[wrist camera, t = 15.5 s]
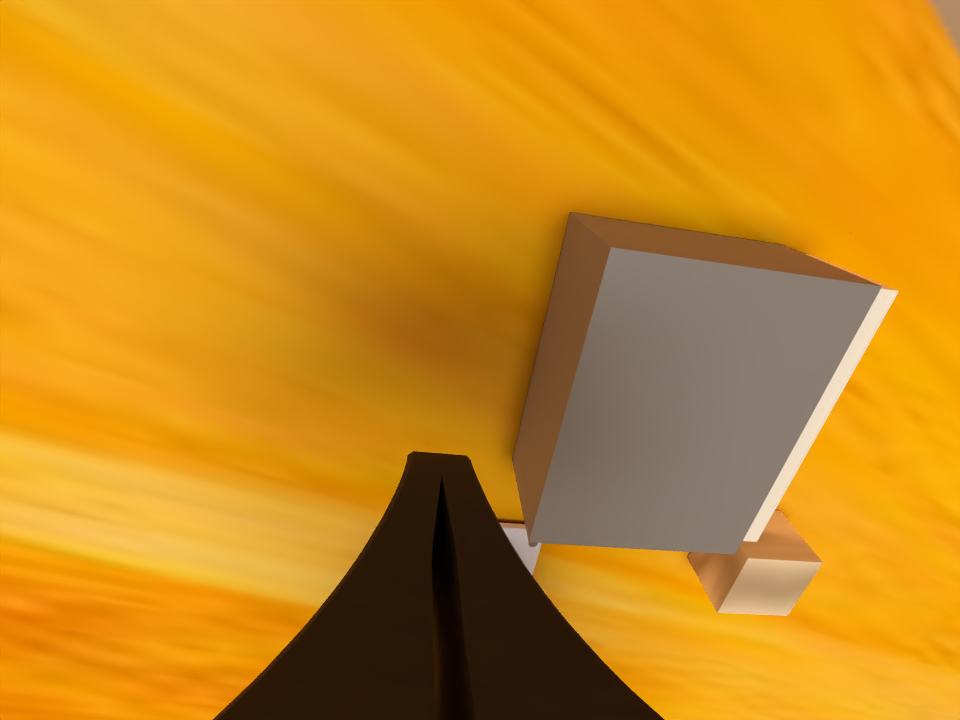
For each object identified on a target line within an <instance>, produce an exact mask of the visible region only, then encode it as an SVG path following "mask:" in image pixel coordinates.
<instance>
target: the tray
mask: <svg viewBox="0 0 960 720" xmlns="http://www.w3.org/2000/svg"><path fill="white" fill-rule="evenodd" d="M806 255H808V256H811V257H813V258H815V259H818V260H820V261H823V262H825V263H827V264H830V265H832V266H835V267H837V268H839V269H842V270H844V271H846V272H849V273H851V274H854V275H856V276H858V277H861V278H863V279H866V280H868V281H870V282H873V283H875V284H878V285H880V286H882V288H881V289H880V291H879V293H878V295H877V297H876V299H875V300H874V302H873V304H872V306H871V308H870V309H869V311H868V313H867V315H866V317H865V319H864V320H863V322H862V324H861V326H860V328H859V330H858V331H857V333H856V335H855V337H854V339H853V341H852V342H851V344H850V346H849V348H848V350H847V351H846V353H845V355H844V357H843V359H842V361H841V362H840V364H839V366H838V368H837V370H836V372H835V373H834V375H833V377H832V379H831V381H830V382H829V384H828V386H827V388H826V390H825V392H824V393H823V395H822V397H821V399H820V401H819V403H818V404H817V406H816V408H815V410H814V412H813V413H812V415H811V417H810V419H809V421H808V423H807V424H806V426H805V428H804V430H803V432H802V434H801V435H800V437H799V439H798V441H797V443H796V445H795V446H794V448H793V450H792V452H791V454H790V455H789V457H788V459H787V461H786V463H785V465H784V466H783V468H782V470H781V472H780V474H779V476H778V477H777V479H776V481H775V483H774V485H773V486H772V488H771V490H770V492H769V494H768V496H767V497H766V499H765V501H764V503H763V505H762V507H761V508H760V510H759V512H758V514H757V516H756V517H755V519H754V521H753V523H752V525H751V527H750V528H749V530H748V532H747V534H746V536H745V538H744V539H743V541H751V542H757V541H758V539H759V537H760V535H761V534H762V532H763V530H764V528H765V526H766V525H767V523H768V521H769V519H770V518H771V516H772V514H773V512H774V511H775V509H776V507H777V505H778V504H779V502H780V500H781V498H782V496H783V495H784V493H785V491H786V489H787V488H788V486H789V484H790V482H791V481H792V479H793V477H794V475H795V474H796V472H797V470H798V468H799V466H800V465H801V463H802V461H803V459H804V458H805V456H806V454H807V452H808V451H809V449H810V447H811V445H812V444H813V442H814V440H815V438H816V436H817V435H818V433H819V431H820V429H821V428H822V426H823V424H824V422H825V421H826V419H827V417H828V415H829V414H830V412H831V410H832V408H833V406H834V405H835V403H836V401H837V399H838V398H839V396H840V394H841V392H842V391H843V389H844V387H845V385H846V384H847V382H848V380H849V378H850V376H851V375H852V373H853V371H854V369H855V368H856V366H857V364H858V362H859V361H860V359H861V357H862V355H863V353H864V352H865V350H866V348H867V346H868V345H869V343H870V341H871V339H872V338H873V336H874V334H875V332H876V331H877V329H878V327H879V325H880V323H881V322H882V320H883V318H884V316H885V315H886V313H887V311H888V309H889V308H890V306H891V304H892V302H893V301H894V299H895V297H896V295H897V293H898V292H899V291H897V290H895V289H893V288H890V287H888V286H885V285H883V284H880V283H878V282H876V281H873V280H871V279H868V278H866V277H863V276H861V275H859V274H856V273H854V272H851V271H849V270H847V269H844V268H842V267H839V266H837V265H834V264H832V263H830V262H827V261H825V260H822V259H820V258H818V257H815V256H813V255H809V254H806Z"/></svg>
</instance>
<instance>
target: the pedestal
mask: <svg viewBox="0 0 960 720" xmlns="http://www.w3.org/2000/svg"><path fill="white" fill-rule="evenodd" d="M688 559H689V561H690V563H691V565H692V567H693V569H694V570H695V572H696V574H697V576H698V578H699V580H700V582H701V583H702V585H703V587H704V589H705V591H706V593H707V594H708V596H709V598H710V600H711V602H712V604H713V606H714V607H715V609H716V611H717V613H736V614H759V615H783V616H788V614H789V613H790V611H791V610H792V608H793V607H794V605H795V604H796V602H797V601H798V599H799V598H800V596H801V595H802V593H803V592H804V590H805V589H806V587H807V586H808V584H809V583H810V581H811V580H812V578H813V577H814V575H815V574H816V572H817V571H818V569H819V568H820V566H821V565H822V563H823V562H822V561H821V560H820V559H819V557H818V556H817V555H816V554H815V553H814V551H813V550H812V549H811V548H810V546H809V545H808V544H807V543H806V542H805V540H804V539H803V538H802V537H801V536H800V534H799V533H798V532H797V531H796V530H795V528H794V527H793V526H792V525H791V524H790V522H789V521H788V520H787V519H786V517H785V516H784V515H783V514H782V513H781V511H780V510H775V511H774V512H773V514H772V516H771V518H770V519H769V521H768V523H767V525H766V526H765V528H764V530H763V532H762V534H761V535H760V537H759V539H758V541H757V542H751V541H742V543H741V545H740V547H739V549H738V550H737V552H736V554H735V555H733V554H717V553H700V552H690V553H689V555H688Z"/></svg>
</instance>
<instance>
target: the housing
mask: <svg viewBox="0 0 960 720" xmlns="http://www.w3.org/2000/svg"><path fill="white" fill-rule="evenodd" d="M881 288H882V286H880V285H878V284H875V283H873V282H870V281H868V280H866V279H863V278H861V277H858V276H856V275H854V274H851V273H849V272H846V271H844V270H842V269H839V268H837V267H835V266H832V265H830V264H827V263H825V262H823V261H820V260H818V259H815V258H813V257H811V256H808V255H806V254H803V253H801V252H799V251H796V250H794V249H791V248H789V247H787V246H784V245H782V244H776V243H769V242H762V241H756V240H749V239H743V238H736V237H730V236H723V235H717V234H710V233H703V232H697V231H690V230H684V229H677V228H671V227H664V226H658V225H651V224H644V223H638V222H631V221H625V220H618V219H612V218H605V217H599V216H592V215H586V214H579V213H572V212H570V214H569V219H568V223H567V227H566V232H565V236H564V240H563V244H562V249H561V253H560V257H559V261H558V266H557V270H556V274H555V279H554V283H553V287H552V291H551V296H550V300H549V304H548V308H547V313H546V317H545V321H544V326H543V330H542V334H541V338H540V343H539V347H538V351H537V356H536V360H535V364H534V368H533V373H532V377H531V381H530V385H529V390H528V394H527V398H526V403H525V407H524V411H523V415H522V420H521V424H520V428H519V433H518V437H517V441H516V445H515V450H514V454H513V458H512V460H513V465H514V470H515V475H516V481H517V486H518V491H519V496H520V501H521V506H522V511H523V516H524V521H525V526H526V531H527V536H528V541H529V542H534V543H550V544H567V545H584V546H600V547H617V548H634V549H650V550H667V551H683V552H700V553H717V554H733V555H735V554H736V552H737V550H738V549H739V547H740V545H741V543H742V541H743V539H744V538H745V536H746V534H747V532H748V530H749V528H750V527H751V525H752V523H753V521H754V519H755V517H756V516H757V514H758V512H759V510H760V508H761V507H762V505H763V503H764V501H765V499H766V497H767V496H768V494H769V492H770V490H771V488H772V486H773V485H774V483H775V481H776V479H777V477H778V476H779V474H780V472H781V470H782V468H783V466H784V465H785V463H786V461H787V459H788V457H789V455H790V454H791V452H792V450H793V448H794V446H795V445H796V443H797V441H798V439H799V437H800V435H801V434H802V432H803V430H804V428H805V426H806V424H807V423H808V421H809V419H810V417H811V415H812V413H813V412H814V410H815V408H816V406H817V404H818V403H819V401H820V399H821V397H822V395H823V393H824V392H825V390H826V388H827V386H828V384H829V382H830V381H831V379H832V377H833V375H834V373H835V372H836V370H837V368H838V366H839V364H840V362H841V361H842V359H843V357H844V355H845V353H846V351H847V350H848V348H849V346H850V344H851V342H852V341H853V339H854V337H855V335H856V333H857V331H858V330H859V328H860V326H861V324H862V322H863V320H864V319H865V317H866V315H867V313H868V311H869V309H870V308H871V306H872V304H873V302H874V300H875V299H876V297H877V295H878V293H879V291H880V289H881Z"/></svg>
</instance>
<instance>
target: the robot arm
mask: <svg viewBox="0 0 960 720" xmlns="http://www.w3.org/2000/svg"><path fill="white" fill-rule="evenodd" d="M541 545H542V543H534V542H529V541H528V536H527V531H526V526H525V524H513V523H499V521H498V519H497V517H496V516H495V514H494V512H493V510H492V508H491V506H490V504H489V502H488V500H487V498H486V496H485V494H484V492H483V490H482V488H481V485H480V483H479V481H478V478H477V476H476V474H475V471H474V468H473V466H472V463H471V460H470V459H469V458H468V457H467V456H464V455H452V454H440V453H427V452H415V451H413V452H412V453H410V454H409V455H408V457H407V463H406V466H405V470H404V473H403V475H402V478H401V480H400V483H399V485H398V487H397V490H396V492H395V494H394V496H393V498H392V500H391V502H390V504H389V506H388V508H387V510H386V512H385V514H384V515H383V517H382V519H381V521H380V523H379V524H378V526H377V527H376V529H375V531H374V532H373V534H372V536H371V537H370V539H369V541H368V542H367V544H366V546H365V547H364V549H363V550H362V552H361V553H360V555H359V556H358V558H357V559H356V561H355V562H354V564H353V565H352V566H351V568H350V569H349V571H348V572H347V573H346V575H345V576H344V578H343V579H342V580H341V582H340V583H339V584H338V586H337V587H336V588H335V590H334V591H333V592H332V593H331V595H330V596H329V597H328V598H327V600H326V601H325V602H324V603H323V605H322V606H321V607H320V608H319V610H318V611H317V612H316V613H315V615H314V616H313V617H312V618H311V619H310V620H309V622H308V623H307V624H306V625H305V626H304V627H303V629H302V630H301V631H300V632H299V633H298V634H297V635H296V636H295V637H294V638H293V640H292V641H291V642H290V643H289V644H288V645H287V646H286V647H285V648H284V649H283V650H282V651H281V652H280V654H279V655H278V656H277V657H276V658H275V659H274V660H273V661H272V662H271V663H270V664H269V665H268V667H267V668H266V669H265V670H264V671H263V672H262V673H261V674H260V675H259V676H258V677H257V678H256V679H255V680H254V681H253V682H252V683H251V684H250V685H249V686H248V687H247V688H246V689H244V690H243V691H242V692H241V693H240V694H239V695H238V696H237V697H236V698H235V699H234V700H233V701H232V702H231V703H230V704H229V705H228V706H227V707H226V708H225V709H223V710H222V711H221V712H220V713H219V714H218V715H217V716H216V717H215V718H214V719H213V720H664V719H663V718H662V717H661V716H660V715H659V714H658V713H656V712H655V711H654V710H653V709H652V708H651V707H650V706H649V705H647V704H646V703H645V702H644V701H643V700H642V699H641V698H640V697H639V696H637V695H636V694H635V693H634V692H633V691H632V690H631V689H630V688H629V687H628V686H627V685H626V684H625V683H624V682H623V681H622V680H621V679H620V678H619V677H618V676H617V675H616V674H615V673H614V672H613V671H612V670H611V669H610V668H609V667H608V666H607V665H606V664H605V663H604V662H603V661H602V660H601V659H600V658H599V657H598V655H597V654H596V653H595V652H594V651H593V650H592V649H591V648H590V647H589V645H588V644H587V643H586V642H585V641H584V640H583V639H582V638H581V636H580V635H579V634H578V633H577V632H576V631H575V630H574V629H573V628H572V626H571V625H570V624H569V623H568V622H567V621H566V619H565V618H564V617H563V616H562V615H561V613H560V612H559V611H558V609H557V608H556V607H555V606H554V604H553V603H552V602H551V601H550V599H549V598H548V597H547V595H546V594H545V593H544V591H543V590H542V589H541V587H540V586H539V585H538V583H537V582H536V581H535V579H534V578H533V576H532V575H533V572H534V569H535V565H536V562H537V558H538V555H539V552H540V548H541Z"/></svg>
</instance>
